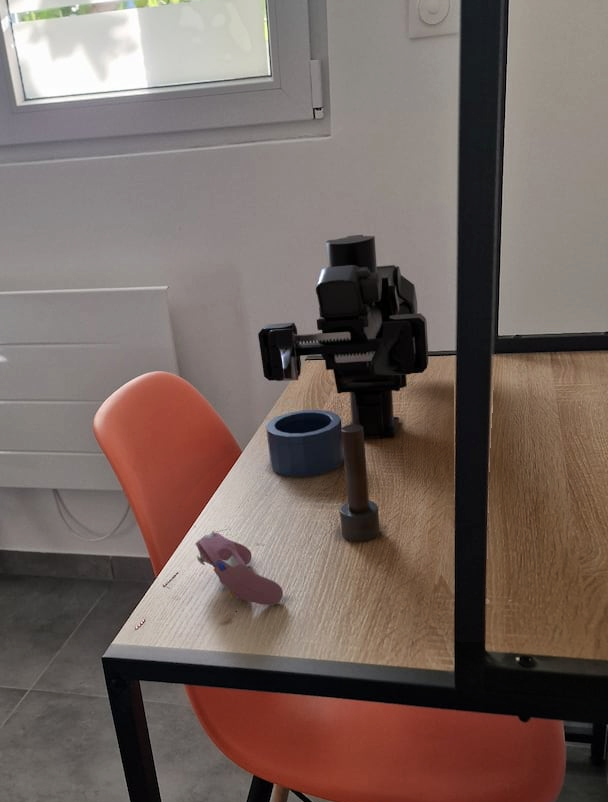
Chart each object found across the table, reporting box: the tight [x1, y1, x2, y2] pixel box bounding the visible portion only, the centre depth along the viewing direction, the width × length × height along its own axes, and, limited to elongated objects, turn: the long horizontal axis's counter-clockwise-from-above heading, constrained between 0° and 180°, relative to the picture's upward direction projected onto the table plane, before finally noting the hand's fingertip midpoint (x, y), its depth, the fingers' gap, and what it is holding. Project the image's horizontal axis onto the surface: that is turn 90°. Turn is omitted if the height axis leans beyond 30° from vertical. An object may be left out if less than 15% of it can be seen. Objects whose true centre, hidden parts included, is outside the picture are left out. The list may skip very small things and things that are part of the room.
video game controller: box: [195, 530, 284, 606], centre depth 79 cm, size 10×5×7 cm, turn 21°
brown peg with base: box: [339, 424, 381, 543], centre depth 85 cm, size 4×4×12 cm
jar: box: [265, 409, 344, 478], centre depth 106 cm, size 9×9×6 cm
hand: (328, 371), depth 86 cm, fingers open, 9 cm apart
